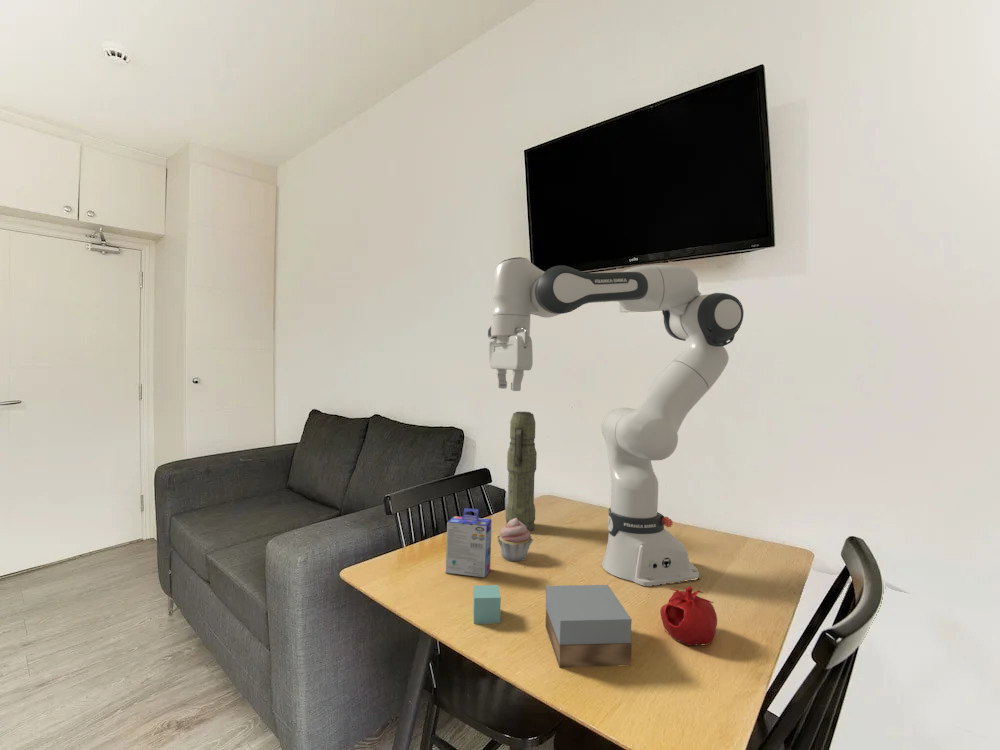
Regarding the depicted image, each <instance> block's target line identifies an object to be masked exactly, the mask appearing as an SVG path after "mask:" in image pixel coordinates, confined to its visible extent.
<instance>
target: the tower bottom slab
mask: <svg viewBox="0 0 1000 750" xmlns="http://www.w3.org/2000/svg"><path fill="white" fill-rule="evenodd" d="M545 630H546V631H547V634H548V638H549V641H550V643H551V646H552V649H553V653H554V656H555V659H556V662H557V664H558V668H560V669H563V668H566V669H567V668H594V667H596V668H597V667H620V666H619V665H629V666H631V665H632V642H631V643H614V644H578V645H559V642H558V639H557V636H556V634H555V631H554V628H553V626H552V623H551V620H550V617H549V615H548V612H547V609H546V608H545Z"/></svg>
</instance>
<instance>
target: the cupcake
mask: <svg viewBox="0 0 1000 750" xmlns="http://www.w3.org/2000/svg"><path fill="white" fill-rule="evenodd" d="M533 541H534V539H533V538H532V535H531V531H529V530H528V529H527V527H526V526H525V525H524V524H523V523H521V522H520V521H518V519H517V518H515V519H512V520H510V521H509V522H508V523H507V525H506V524H505V525H504V526H503V527H502V528H501V530H500V533H499V535H497V542H498V545H499V546H500V553H501V557H502V558H503V559H504V560H506V561H509V562H520V561H524V560H526V558H527V556H528V553H529V550H530V549H529V548H530V546H531V544H532V543H533Z"/></svg>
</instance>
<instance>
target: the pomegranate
mask: <svg viewBox="0 0 1000 750" xmlns="http://www.w3.org/2000/svg"><path fill="white" fill-rule="evenodd" d="M684 589H685V590H684V591H683V590H678V589H675V588H674V589H671V588H669V590H670V591H674V592H673V593H672V595H671V597H670V598H669V599H668V602H667V603H666V604H664V605H662V606H661V607H660V618H661V621H662V625H663V628H664V630H666V632H667V633H668V635H670V636H671V637H672V638H673V639H674V640H676V641H678V642H680V643H682V644H684V643H685V644H684V645H687V644H688V645H687V646H691V645H696V644H705V645H704V646H706V644H707V645H709V644H712V642H713V641H714V639H715V636H716V631H717V625H718V616H717V613H716V609H715V607H714V606H713V603H714V601H711V600H708V599H706V598H704V597H701V596H699V595H698V593H701V594H703V593H704V591H701V590H699V589H697V590H696V591H694V589H693V587H692V586H691V585H690V586H687V587H684ZM693 591H694V592H693ZM696 646H697V645H696Z"/></svg>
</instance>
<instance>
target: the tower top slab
mask: <svg viewBox="0 0 1000 750" xmlns="http://www.w3.org/2000/svg"><path fill="white" fill-rule="evenodd" d="M546 609H547V612H548V615H549V617H550V620H551V623H552V626H553V628H554V631H555V634H556V636H557V639H558V642H559V645H578V644H614V643H631V644H632V618H631V616H630V615H629V613H628V612H627V611H626V609H625V608H624V606H623V605H622V603H621V601H620V600H619V599H618V597H617V596H616V594H615V593H614V591H613V590H612V589H611V587H610V586H609V584H586V585H585V584H584V585H583V584H580V585H577V584H576V585H575V584H574V585H567V584H566V585H565V584H564V585H545V610H546Z"/></svg>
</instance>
